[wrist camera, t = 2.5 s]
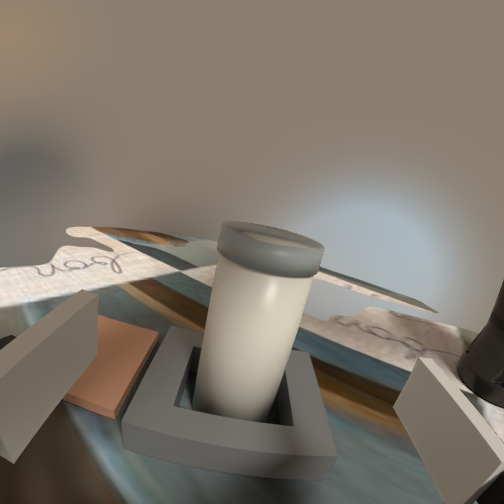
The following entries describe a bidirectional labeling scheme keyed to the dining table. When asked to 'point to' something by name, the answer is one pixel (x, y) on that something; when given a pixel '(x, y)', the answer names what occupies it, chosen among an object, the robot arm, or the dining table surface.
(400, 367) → the dining table surface
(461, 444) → the robot arm
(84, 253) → the dining table surface
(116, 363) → the rubber mat
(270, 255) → the filter cartridge
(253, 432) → the frame
